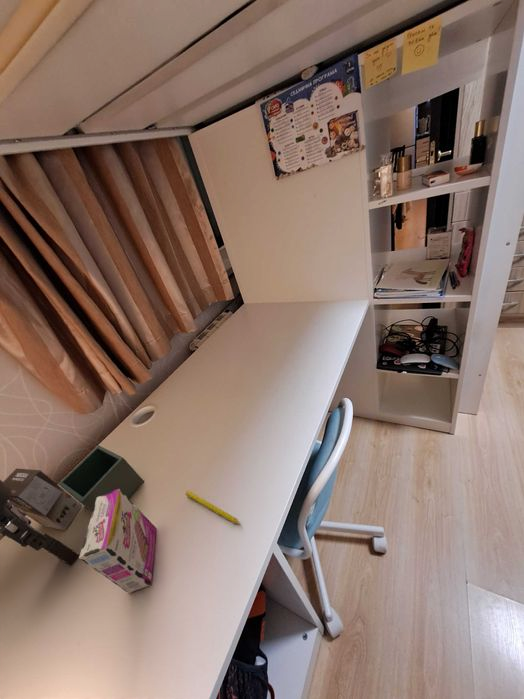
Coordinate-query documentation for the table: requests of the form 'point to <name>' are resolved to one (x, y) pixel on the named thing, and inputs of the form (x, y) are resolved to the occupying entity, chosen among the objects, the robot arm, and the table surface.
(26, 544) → the robot arm
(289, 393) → the table surface
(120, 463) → the box
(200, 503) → the pencil
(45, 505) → the coffee box
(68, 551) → the ink cartridge
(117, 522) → the candy bar box
